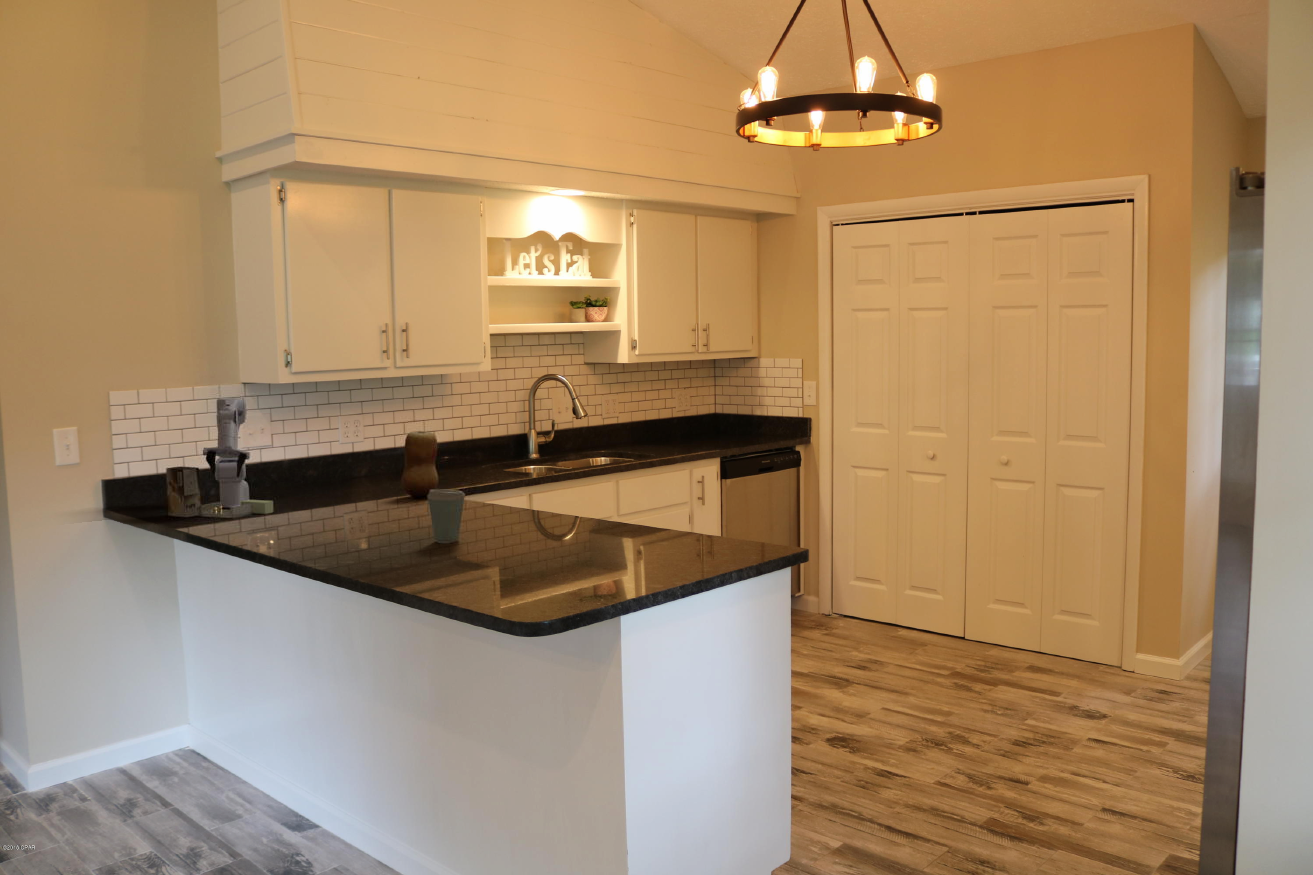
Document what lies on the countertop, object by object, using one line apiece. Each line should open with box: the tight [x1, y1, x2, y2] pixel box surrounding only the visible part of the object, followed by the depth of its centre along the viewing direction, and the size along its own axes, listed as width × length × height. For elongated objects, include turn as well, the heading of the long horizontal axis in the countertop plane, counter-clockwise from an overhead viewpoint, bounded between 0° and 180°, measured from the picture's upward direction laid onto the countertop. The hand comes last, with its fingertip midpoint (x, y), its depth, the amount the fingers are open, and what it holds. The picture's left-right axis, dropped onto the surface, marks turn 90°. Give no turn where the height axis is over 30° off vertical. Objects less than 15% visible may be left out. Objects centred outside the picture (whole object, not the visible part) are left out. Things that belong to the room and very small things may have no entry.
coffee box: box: [165, 466, 202, 518], centre depth 335 cm, size 9×6×16 cm
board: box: [241, 499, 274, 515], centre depth 343 cm, size 10×4×4 cm, turn 71°
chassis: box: [198, 501, 254, 519], centre depth 336 cm, size 14×9×4 cm, turn 71°
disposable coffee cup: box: [427, 489, 466, 544], centre depth 287 cm, size 11×11×15 cm
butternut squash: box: [400, 430, 439, 499], centre depth 377 cm, size 14×13×25 cm
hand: (226, 474), depth 335 cm, fingers open, 7 cm apart
